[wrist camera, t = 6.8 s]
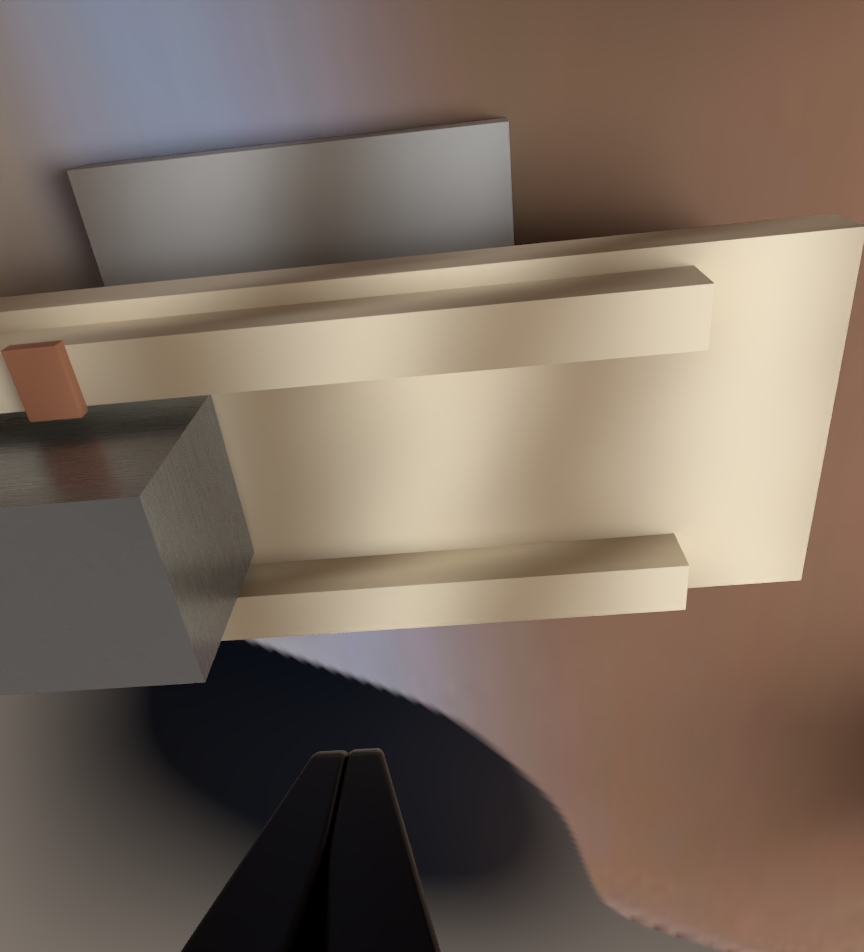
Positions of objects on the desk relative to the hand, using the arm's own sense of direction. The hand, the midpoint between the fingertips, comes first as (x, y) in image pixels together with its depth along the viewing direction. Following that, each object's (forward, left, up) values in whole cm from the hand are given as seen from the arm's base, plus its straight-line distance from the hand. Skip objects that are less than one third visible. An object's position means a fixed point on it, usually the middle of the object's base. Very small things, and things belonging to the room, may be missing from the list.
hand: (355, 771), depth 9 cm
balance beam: (+2, 0, -13) cm, 13 cm away
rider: (+6, 0, -8) cm, 10 cm away
